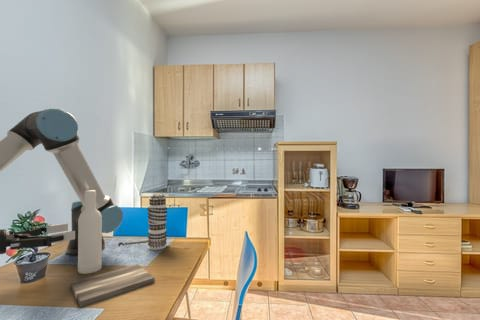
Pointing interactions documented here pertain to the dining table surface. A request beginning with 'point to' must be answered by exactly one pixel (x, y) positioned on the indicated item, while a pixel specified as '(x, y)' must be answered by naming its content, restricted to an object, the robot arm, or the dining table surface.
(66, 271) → the dining table surface
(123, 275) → the subfloor panel
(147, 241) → the wooden handled claw tool
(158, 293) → the dining table surface
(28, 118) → the robot arm
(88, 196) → the bottle
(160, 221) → the decorative candle
